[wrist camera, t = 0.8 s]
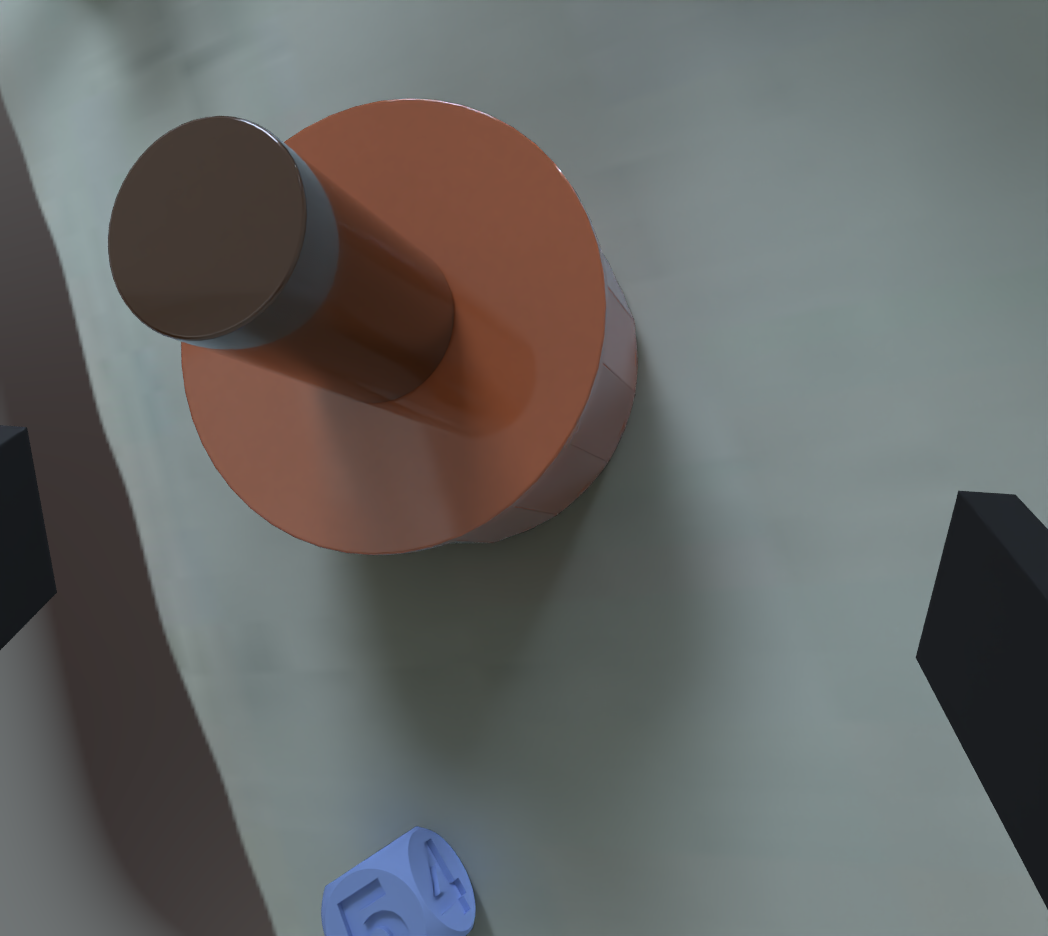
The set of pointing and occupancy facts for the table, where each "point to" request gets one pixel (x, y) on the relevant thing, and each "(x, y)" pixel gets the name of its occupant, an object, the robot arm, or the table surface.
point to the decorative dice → (402, 892)
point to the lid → (369, 314)
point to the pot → (582, 431)
